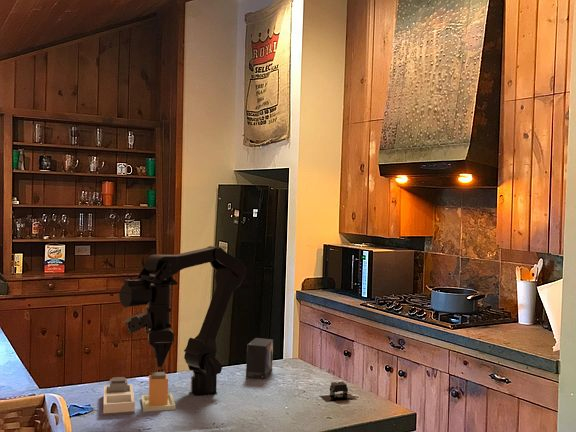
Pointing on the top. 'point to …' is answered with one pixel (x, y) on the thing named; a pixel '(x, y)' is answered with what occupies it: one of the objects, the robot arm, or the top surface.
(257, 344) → the small box
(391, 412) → the top surface
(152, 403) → the plug
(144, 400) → the tray
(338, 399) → the dark boxy piece
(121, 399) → the cream slotted rack
